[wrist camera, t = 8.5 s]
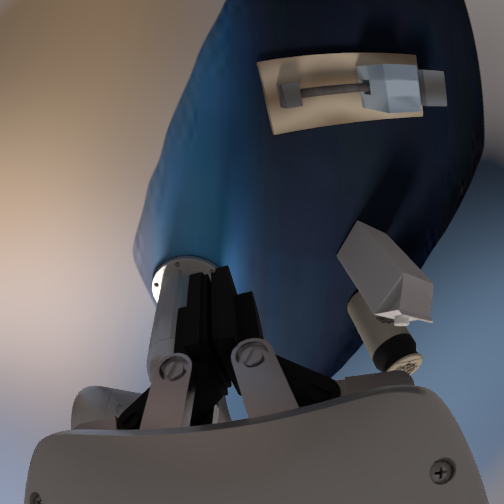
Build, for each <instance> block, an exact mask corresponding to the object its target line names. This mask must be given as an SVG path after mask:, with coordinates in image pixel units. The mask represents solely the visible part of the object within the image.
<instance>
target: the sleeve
mask: <svg viewBox="0 0 504 504" xmlns="http://www.w3.org/2000/svg"><path fill="white" fill-rule="evenodd" d="M356 69H357V75H358V81H359V83H369V84H370V90H371V91H369V92H360V94H361V101H362V108H367V109H372V110H377V111H381V112H386V113H402V112H421V101H420V91H419V83H418V75H417V68H416V65H402V64H375V65H363V66H356Z"/></svg>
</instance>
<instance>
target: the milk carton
mask: <svg viewBox="0 0 504 504" xmlns="http://www.w3.org/2000/svg"><path fill="white" fill-rule="evenodd" d="M336 256H337V257H338V259H339V260H340V262H341V263H342V265H343V267H344V268H345V270H346V271H347V273H348V274H349V276H350V277H351V279H352V281H353V282H354V284H355V285H356V287H357V289H358V290H359V292H360V293H361V295H362V297H363V298H364V300H365V301H366V303H367V305H368V306H369V308H370V310H371V311H372V313H373V314H374V315H378V316H382V317H387V318H391V319H394V325H395V326H407V325H409V321H412V320H422V321H426V322H430V323H433V321H432V319H431V318H430V311H431V303H432V295H433V284H432V282H431V281H430V280H429V279H428V278H427V277H426V276H425V275H424V273H423V272H422V271H421V270H420V269H419V268H418V267H417V266H416V265H415V264H414V262H413V261H412V260H411V259H410V258H409V257H408V256H407V255H406V254H405V253H404V252H403V251H402V250H401V249H400V248H399V247H398V246H397V245H396V244H395V243H394V241H393V240H392V239H391V238H390V237H389V236H388V235H387V234H385V233H383V232H381V231H379V230H377V229H375V228H373V227H371V226H369V225H367V224H364V223H362V222H360V221H356V223H355V225H354V227H353V228H352V230H351V232H350V233H349V235H348V237H347V239H346V240H345V242H344V244H343V245H342V247H341V249H340V250H339V252H338V254H337V255H336Z"/></svg>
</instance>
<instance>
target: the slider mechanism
mask: <svg viewBox="0 0 504 504" xmlns="http://www.w3.org/2000/svg"><path fill="white" fill-rule="evenodd" d="M375 64H402V65H416V68H417V75H418V83H419V91H420V101H421V112H402V113H386V112H381V111H377V110H372V109H367V108H362V101H361V94H360V92H369V91H371V90H370V84H369V83H359V81H358V75H357V69H356V66H363V65H375ZM257 66H258V71H259V75H260V79H261V84H262V88H263V93H264V97H265V102H266V106H267V111H268V116H269V120H270V125H271V130H272V134H274V135H276V134H281V133H287V132H292V131H297V130H303V129H309V128H315V127H322V126H328V125H335V124H343V123H350V122H359V121H368V120H378V119H389V118H403V117H421V116H423V109H422V105H424V106H447V99H446V88H445V79H444V72H443V71H432V70H418V66H417V60H416V55H409V54H394V53H334V54H318V55H306V56H297V57H288V58H280V59H273V60H267V61H261V62H257Z"/></svg>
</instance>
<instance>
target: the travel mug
mask: <svg viewBox="0 0 504 504" xmlns="http://www.w3.org/2000/svg"><path fill="white" fill-rule="evenodd" d="M348 313H349V315H350V316H351V318H352V320H353V322H354V324H355V326H356V328H357V330H358V332H359V334H360V336H361V338H362V340H363V342H364V344H365V346H366V348H367V349H368V352H369V354H370V356H371V358H372V360H373V362H374V364H375V366H376V368H377V369H378V370H380V371H382V372H387V371H393V370H401V371H404V372H407V373H408V374H409V375H411V374H412V373H413V372H415V371H416V370H417V369H418V368H419V366H420V365H421V363H422V360H423V357H422V355H421V354H419V353H417V352H416V343H415V341H414V339H413V338H412V336H411V335H410V333H409V332H408V330H407V329H406V327H405V326H395V325H394V319H391V318H387V317H382V316H378V315H374V314H373V313H372V311H371V310H370V308H369V306H368V305H367V303H366V301H365V300H364V298H363V297H362V295H361V293H360V292H357V293H356V294H355V295H354V296H353V297H352V298H351V300H350V301H349V303H348Z"/></svg>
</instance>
